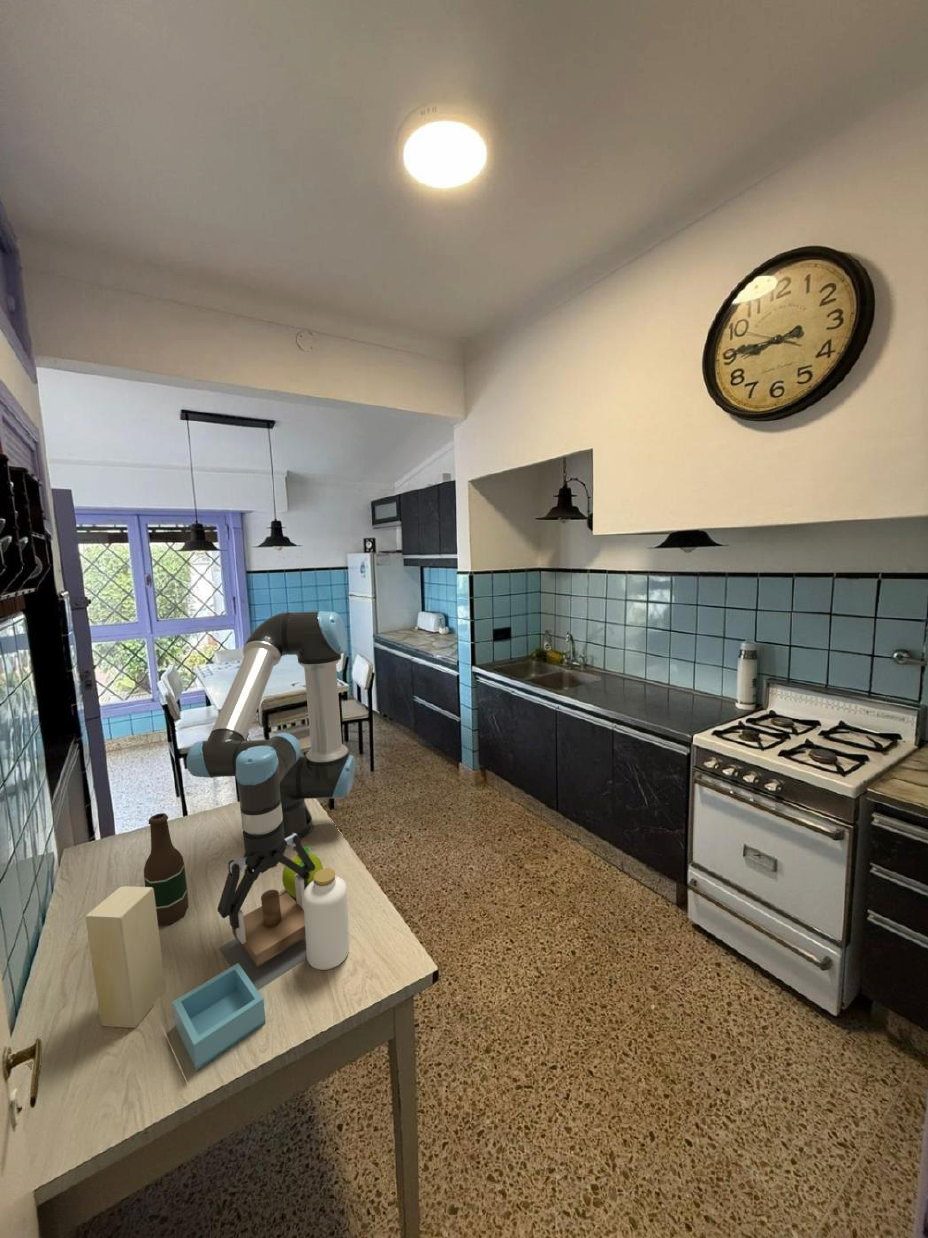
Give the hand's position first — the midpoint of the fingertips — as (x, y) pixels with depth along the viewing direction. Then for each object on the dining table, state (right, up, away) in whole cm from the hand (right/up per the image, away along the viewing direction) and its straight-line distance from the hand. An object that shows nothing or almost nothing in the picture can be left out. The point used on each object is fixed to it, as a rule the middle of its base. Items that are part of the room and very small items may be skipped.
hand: (272, 921), depth 102 cm
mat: (0, -5, 0) cm, 5 cm away
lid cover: (0, -2, 0) cm, 2 cm away
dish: (-3, -8, -17) cm, 19 cm away
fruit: (+1, -3, +16) cm, 17 cm away
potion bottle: (+12, -5, -2) cm, 14 cm away
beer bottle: (-27, -5, +10) cm, 30 cm away
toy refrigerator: (-20, -8, -12) cm, 25 cm away
